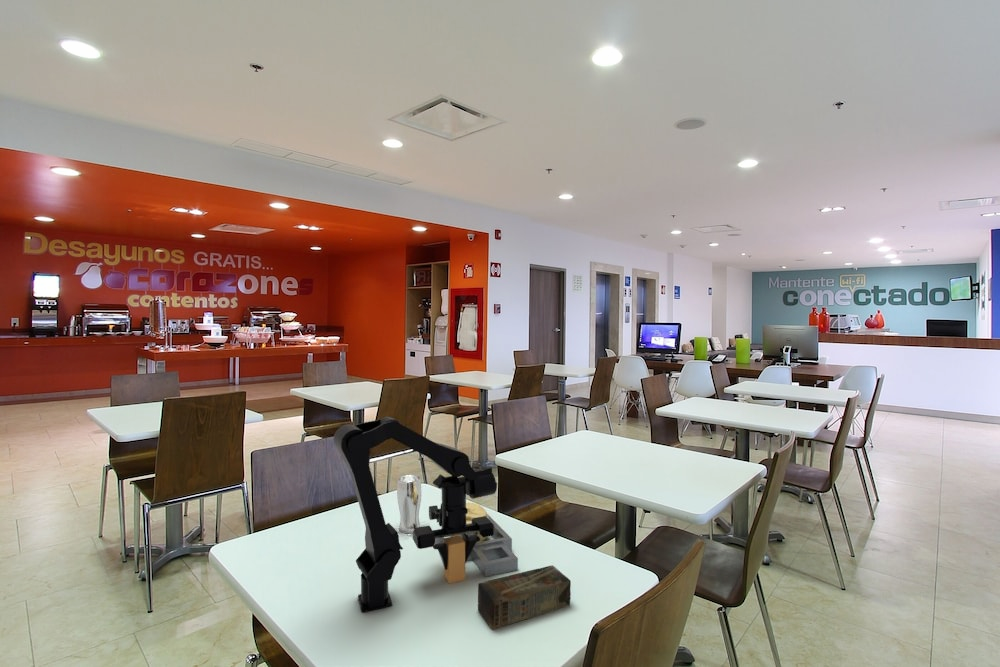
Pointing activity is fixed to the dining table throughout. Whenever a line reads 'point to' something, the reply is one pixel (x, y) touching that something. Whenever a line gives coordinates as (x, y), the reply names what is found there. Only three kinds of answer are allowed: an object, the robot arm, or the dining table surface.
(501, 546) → the grey flat openwork piece
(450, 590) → the dining table surface
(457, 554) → the orange rectangular block
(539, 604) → the beverage carton
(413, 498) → the beer glass
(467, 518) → the sculpture
